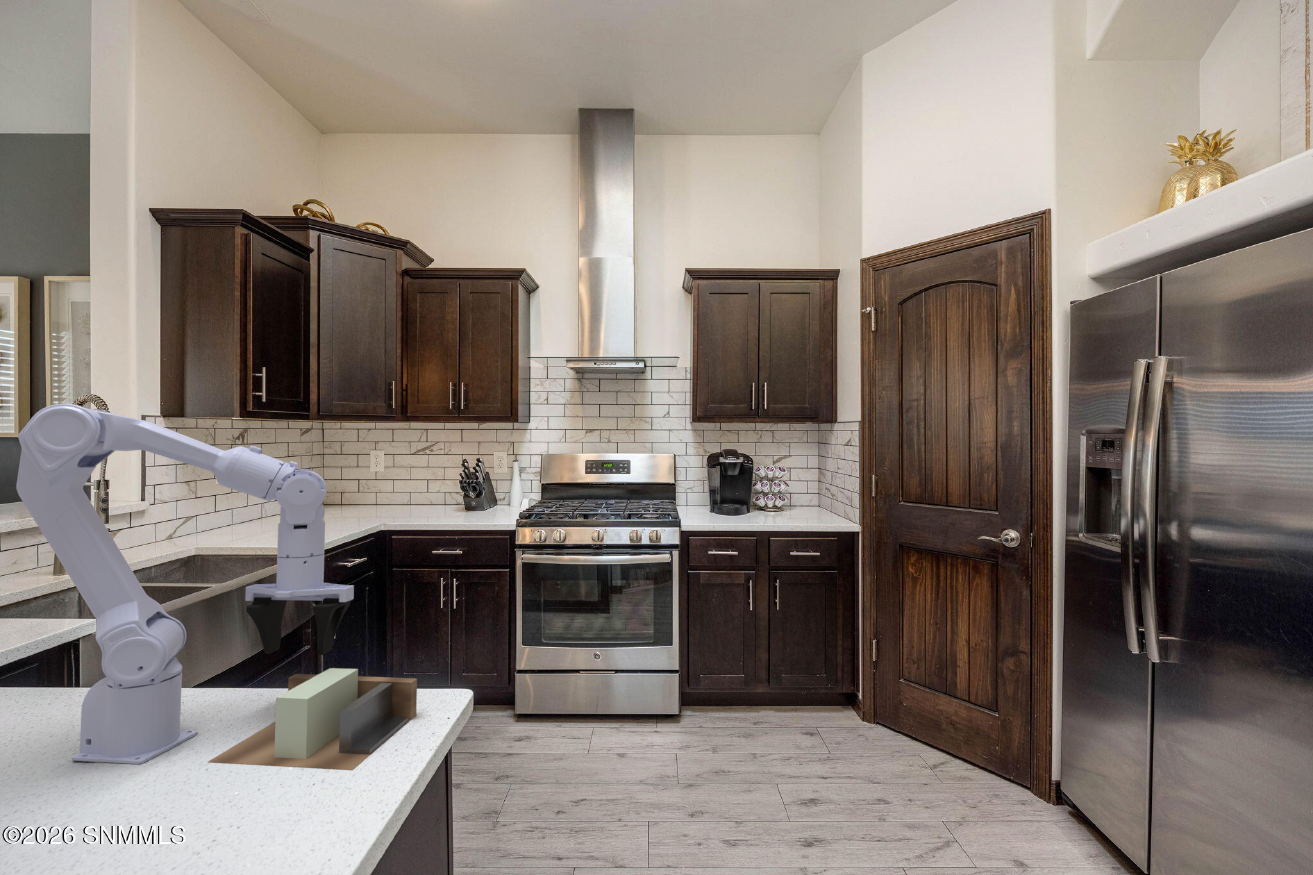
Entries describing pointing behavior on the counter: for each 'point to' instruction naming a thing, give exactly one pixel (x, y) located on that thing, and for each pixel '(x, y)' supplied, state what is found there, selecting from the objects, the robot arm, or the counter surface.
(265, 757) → the wooden display base
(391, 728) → the bookend
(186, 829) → the counter surface
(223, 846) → the counter surface
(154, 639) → the robot arm
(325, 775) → the counter surface
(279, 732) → the pale green rectangular block
